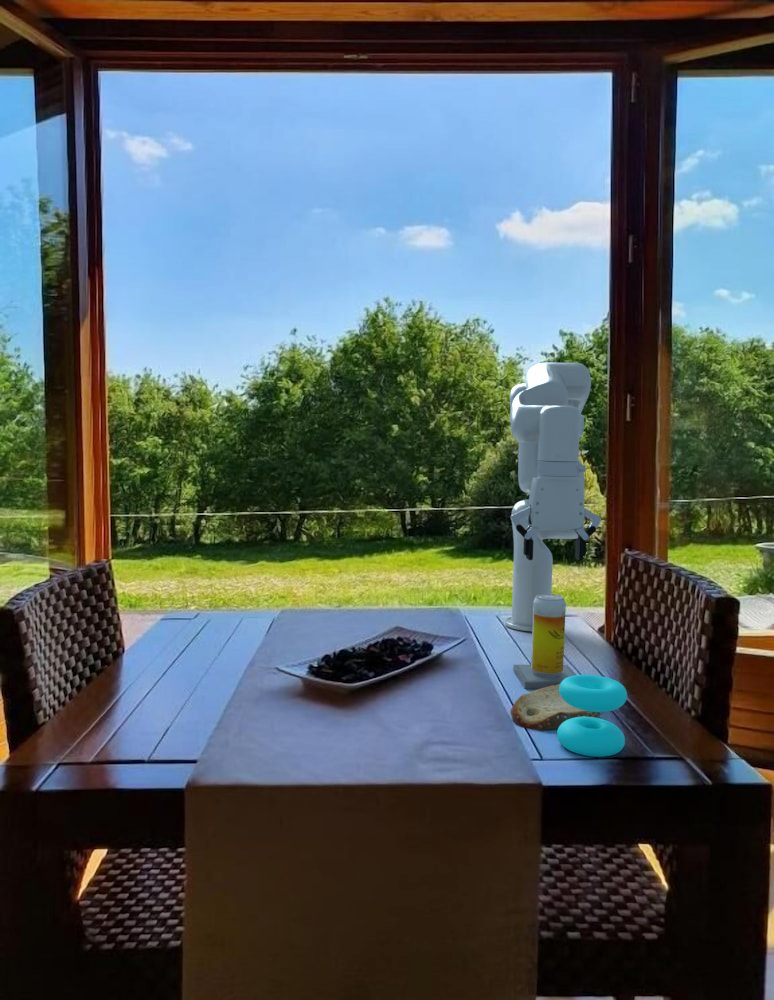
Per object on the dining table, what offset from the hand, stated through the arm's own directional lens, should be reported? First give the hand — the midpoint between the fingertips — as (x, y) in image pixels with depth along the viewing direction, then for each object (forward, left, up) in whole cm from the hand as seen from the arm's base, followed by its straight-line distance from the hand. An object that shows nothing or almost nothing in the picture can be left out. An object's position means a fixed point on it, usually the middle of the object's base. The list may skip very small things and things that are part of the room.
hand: (554, 559), depth 148 cm
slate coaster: (+1, -1, -23) cm, 23 cm away
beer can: (+1, -1, -22) cm, 22 cm away
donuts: (+33, -2, -24) cm, 41 cm away
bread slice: (+18, -3, -24) cm, 30 cm away
